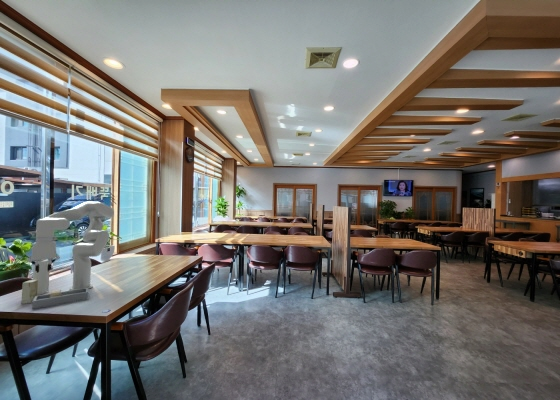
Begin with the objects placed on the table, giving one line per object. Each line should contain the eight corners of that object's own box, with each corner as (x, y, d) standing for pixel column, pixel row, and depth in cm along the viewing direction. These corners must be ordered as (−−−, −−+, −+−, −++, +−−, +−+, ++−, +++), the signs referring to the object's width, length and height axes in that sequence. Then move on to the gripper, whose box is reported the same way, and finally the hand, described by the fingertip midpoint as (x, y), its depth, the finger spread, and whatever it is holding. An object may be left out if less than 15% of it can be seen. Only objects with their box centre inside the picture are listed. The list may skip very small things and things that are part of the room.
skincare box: (30, 303, 141) (31, 282, 141) (20, 304, 140) (21, 282, 140) (37, 299, 147) (38, 279, 147) (28, 300, 146) (29, 279, 146)
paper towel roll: (30, 296, 152) (32, 262, 153) (33, 293, 157) (35, 260, 158) (46, 294, 156) (47, 260, 157) (48, 291, 161) (50, 259, 162)
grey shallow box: (35, 303, 141) (35, 295, 141) (87, 294, 156) (87, 287, 156) (32, 309, 133) (32, 301, 133) (87, 299, 148) (88, 291, 148)
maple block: (50, 298, 143) (51, 291, 143) (60, 296, 146) (61, 289, 146) (49, 300, 139) (50, 293, 140) (60, 298, 142) (60, 291, 142)
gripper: (64, 238, 148) (62, 268, 148) (25, 240, 138) (23, 272, 137) (63, 239, 143) (62, 270, 142) (22, 241, 132) (21, 275, 131)
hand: (43, 271), depth 139 cm, fingers open, 3 cm apart
